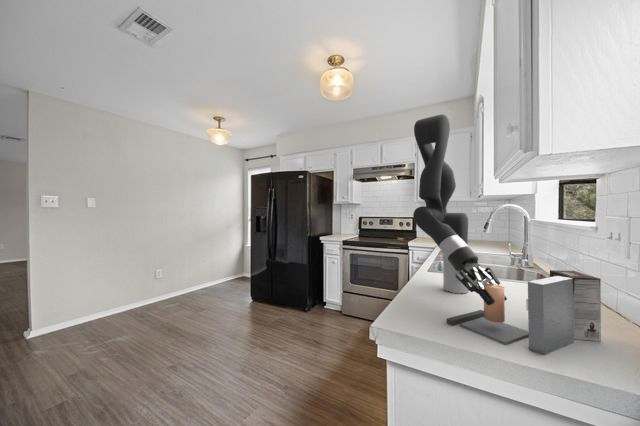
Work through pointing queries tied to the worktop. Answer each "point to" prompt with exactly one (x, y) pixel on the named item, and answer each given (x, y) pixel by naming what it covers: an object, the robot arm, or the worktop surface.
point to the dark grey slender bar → (465, 317)
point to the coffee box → (585, 304)
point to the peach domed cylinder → (495, 304)
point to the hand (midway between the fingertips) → (497, 302)
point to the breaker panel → (550, 314)
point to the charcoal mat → (496, 330)
